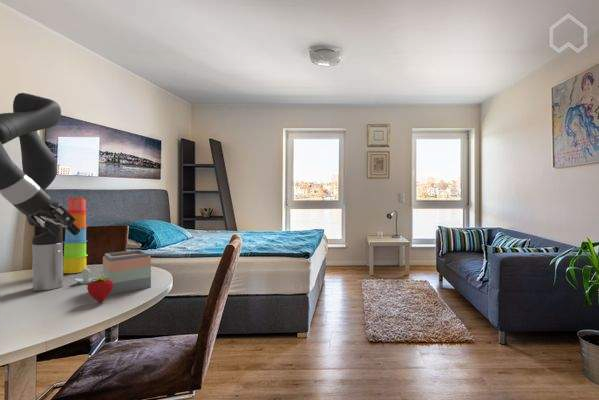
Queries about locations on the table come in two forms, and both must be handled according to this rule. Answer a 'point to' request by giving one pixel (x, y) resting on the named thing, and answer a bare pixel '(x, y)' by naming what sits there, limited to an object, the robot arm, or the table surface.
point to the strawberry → (100, 288)
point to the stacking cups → (76, 238)
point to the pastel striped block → (127, 270)
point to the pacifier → (85, 277)
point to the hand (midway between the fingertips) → (67, 232)
